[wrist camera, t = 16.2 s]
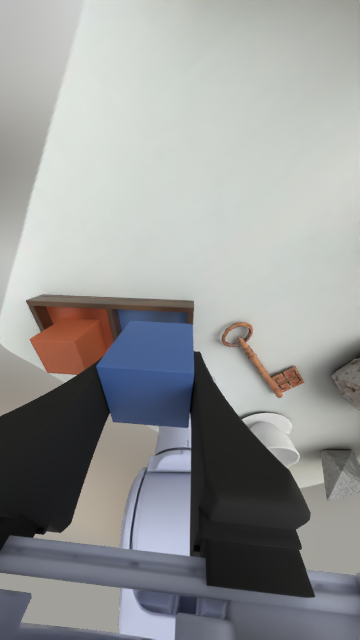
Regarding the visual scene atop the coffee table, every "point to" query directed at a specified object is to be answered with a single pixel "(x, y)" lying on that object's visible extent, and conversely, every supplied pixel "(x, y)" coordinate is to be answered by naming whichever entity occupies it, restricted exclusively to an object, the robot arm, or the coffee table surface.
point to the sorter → (109, 312)
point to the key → (253, 357)
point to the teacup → (274, 435)
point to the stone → (349, 381)
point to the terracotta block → (70, 345)
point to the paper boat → (340, 473)
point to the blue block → (150, 374)
